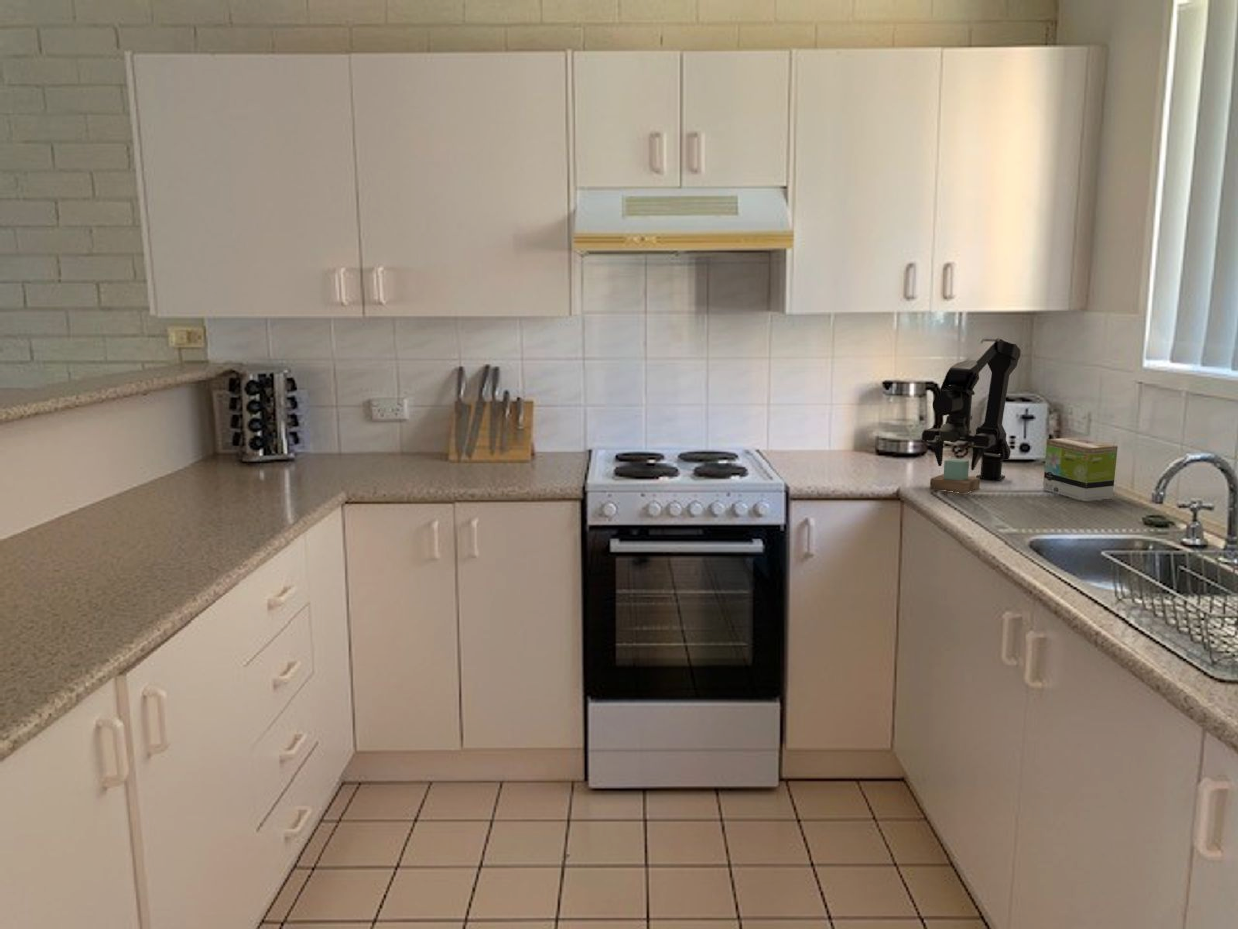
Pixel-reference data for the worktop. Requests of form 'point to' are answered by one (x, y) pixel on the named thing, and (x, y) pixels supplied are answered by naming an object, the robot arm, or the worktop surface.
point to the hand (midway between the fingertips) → (956, 468)
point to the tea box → (1080, 468)
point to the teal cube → (956, 469)
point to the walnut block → (954, 484)
